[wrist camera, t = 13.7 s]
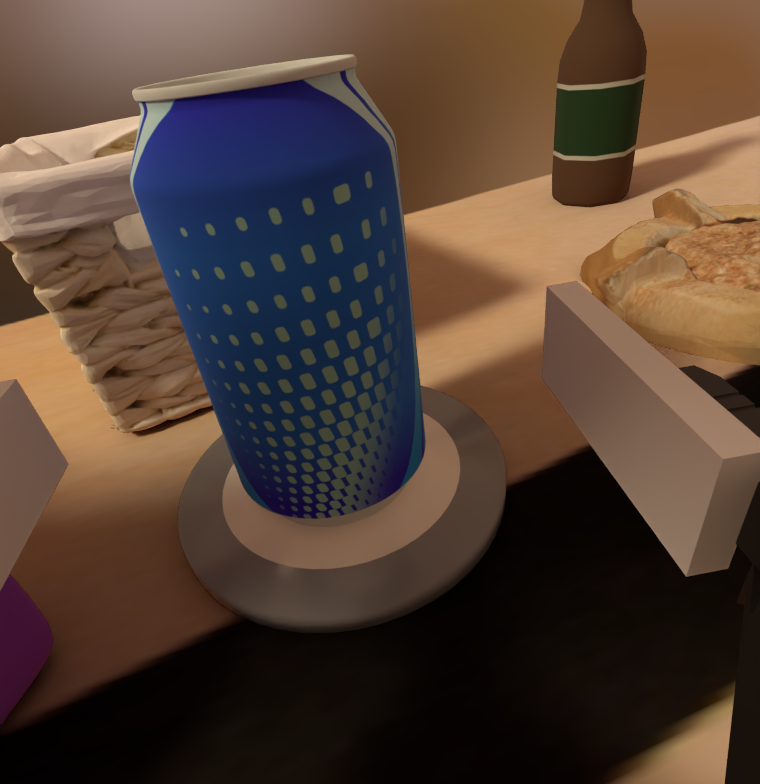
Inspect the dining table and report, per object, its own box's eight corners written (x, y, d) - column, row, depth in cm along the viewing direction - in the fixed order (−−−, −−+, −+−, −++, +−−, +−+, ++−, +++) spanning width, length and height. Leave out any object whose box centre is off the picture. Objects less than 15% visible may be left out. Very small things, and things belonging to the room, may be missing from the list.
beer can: (239, 560, 21) (47, 108, 12) (253, 431, 28) (138, 83, 19) (447, 520, 21) (410, 52, 12) (410, 402, 28) (369, 48, 19)
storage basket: (83, 316, 47) (-5, 136, 39) (256, 265, 53) (211, 97, 45) (107, 464, 29) (-47, 186, 21) (367, 362, 35) (325, 110, 26)
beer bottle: (552, 188, 61) (567, -89, 48) (626, 184, 59) (664, -109, 45) (549, 209, 55) (565, -101, 42) (631, 206, 53) (677, -125, 39)
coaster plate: (149, 669, 19) (138, 653, 18) (210, 419, 31) (204, 405, 31) (561, 591, 19) (563, 573, 19) (459, 375, 32) (459, 360, 31)
